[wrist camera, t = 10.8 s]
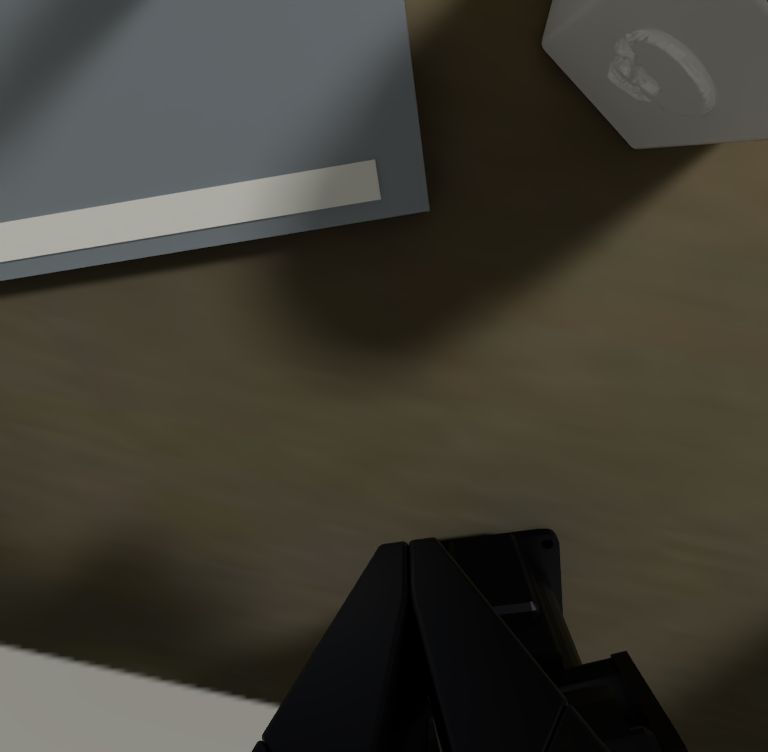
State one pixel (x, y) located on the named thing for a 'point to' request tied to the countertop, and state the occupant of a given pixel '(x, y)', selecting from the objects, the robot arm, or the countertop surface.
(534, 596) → the robot arm
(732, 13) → the jar
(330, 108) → the switch panel
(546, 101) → the countertop surface
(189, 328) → the countertop surface
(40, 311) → the countertop surface
